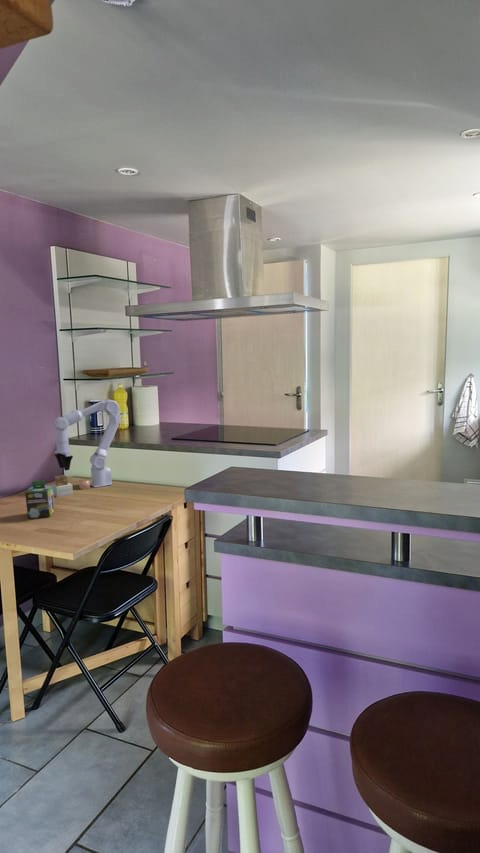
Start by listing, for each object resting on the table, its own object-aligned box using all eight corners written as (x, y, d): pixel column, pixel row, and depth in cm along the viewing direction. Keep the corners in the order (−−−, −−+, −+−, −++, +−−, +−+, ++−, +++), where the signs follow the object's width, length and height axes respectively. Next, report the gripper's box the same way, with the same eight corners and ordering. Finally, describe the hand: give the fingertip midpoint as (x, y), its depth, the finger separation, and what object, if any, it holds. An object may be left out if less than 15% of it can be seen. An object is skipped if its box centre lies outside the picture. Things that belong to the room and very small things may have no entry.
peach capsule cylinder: (89, 486, 272) (89, 478, 271) (90, 488, 267) (90, 481, 267) (78, 487, 270) (78, 479, 269) (80, 489, 265) (79, 481, 265)
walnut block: (64, 483, 260) (63, 474, 260) (67, 484, 256) (67, 476, 256) (55, 484, 257) (54, 476, 257) (58, 486, 254) (57, 477, 253)
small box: (67, 491, 263) (67, 481, 263) (73, 495, 257) (72, 484, 256) (51, 494, 259) (50, 484, 258) (57, 498, 252) (56, 487, 252)
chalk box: (55, 511, 230) (52, 477, 228) (50, 517, 221) (47, 482, 219) (33, 512, 229) (30, 478, 227) (26, 518, 220) (23, 483, 218)
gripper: (49, 440, 268) (52, 467, 269) (58, 444, 256) (60, 472, 258) (64, 439, 272) (66, 465, 273) (73, 442, 260) (75, 470, 262)
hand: (64, 468), depth 266 cm, fingers open, 7 cm apart
